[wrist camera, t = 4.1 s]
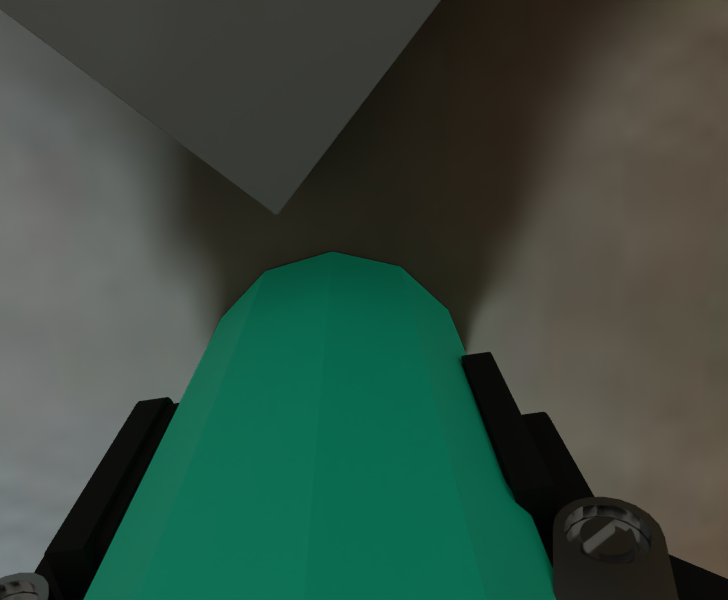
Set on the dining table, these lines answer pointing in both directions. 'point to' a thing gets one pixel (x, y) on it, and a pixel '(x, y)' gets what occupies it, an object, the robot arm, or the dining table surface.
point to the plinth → (235, 71)
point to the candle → (327, 458)
